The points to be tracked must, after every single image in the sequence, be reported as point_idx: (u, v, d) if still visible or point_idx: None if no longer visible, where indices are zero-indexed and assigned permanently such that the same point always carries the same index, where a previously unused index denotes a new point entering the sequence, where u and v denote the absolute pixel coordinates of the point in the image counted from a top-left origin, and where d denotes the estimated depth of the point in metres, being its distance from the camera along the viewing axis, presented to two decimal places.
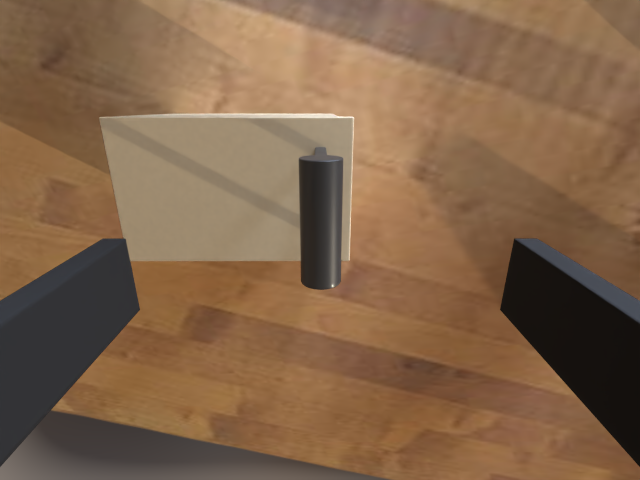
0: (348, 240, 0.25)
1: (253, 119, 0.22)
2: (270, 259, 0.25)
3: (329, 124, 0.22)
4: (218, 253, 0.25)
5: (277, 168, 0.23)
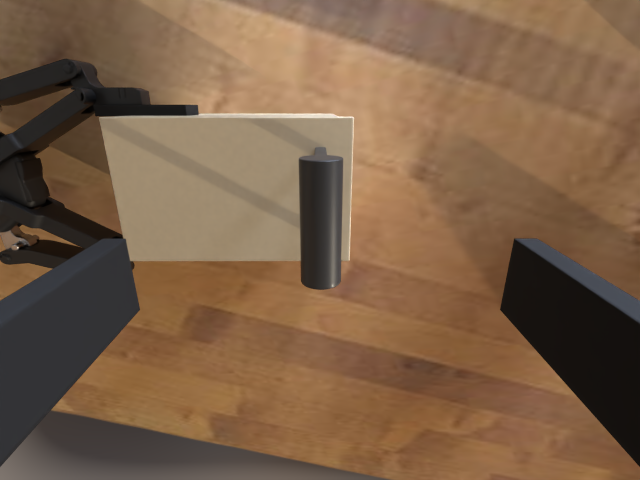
0: (348, 240, 0.25)
1: (253, 119, 0.22)
2: (270, 259, 0.25)
3: (329, 124, 0.22)
4: (218, 253, 0.25)
5: (277, 168, 0.23)
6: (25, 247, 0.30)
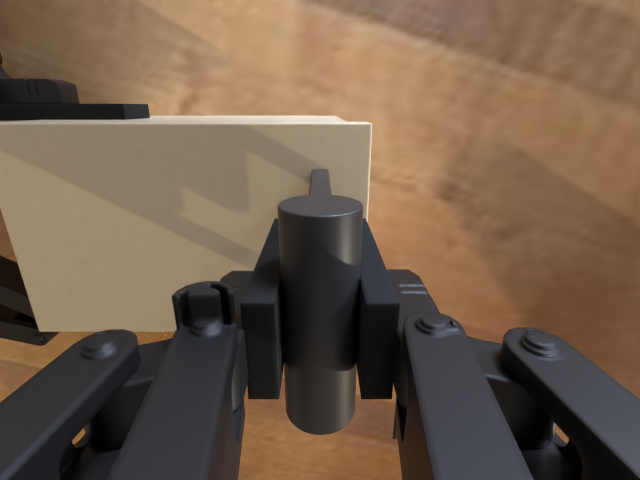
0: None
1: (215, 126, 0.14)
2: None
3: (333, 135, 0.14)
4: (170, 321, 0.17)
5: (254, 200, 0.15)
6: None
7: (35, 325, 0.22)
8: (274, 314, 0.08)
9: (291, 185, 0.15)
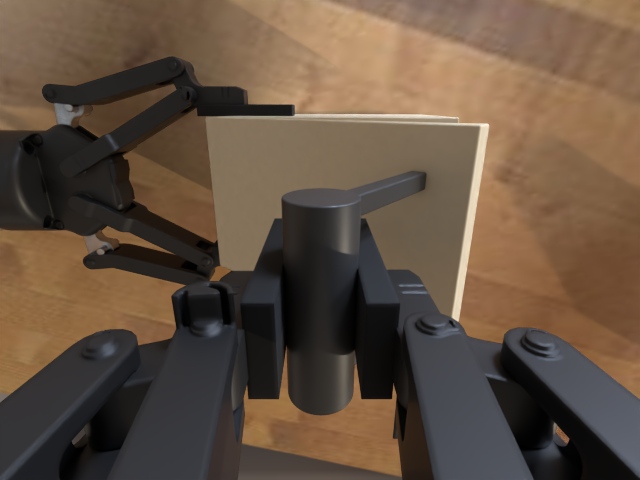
0: None
1: (334, 124, 0.16)
2: None
3: (436, 136, 0.13)
4: None
5: None
6: (109, 251, 0.29)
7: (197, 272, 0.29)
8: (274, 314, 0.08)
9: None
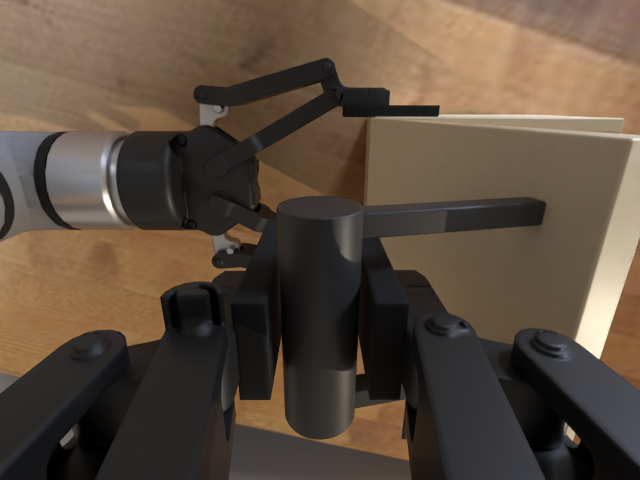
0: None
1: (460, 128, 0.13)
2: None
3: (565, 152, 0.09)
4: None
5: None
6: (237, 251, 0.29)
7: None
8: (265, 315, 0.08)
9: None
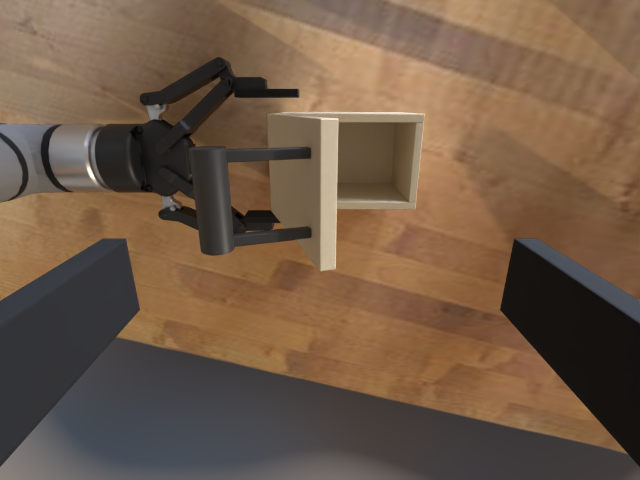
0: (319, 249, 0.23)
1: (292, 118, 0.26)
2: (296, 241, 0.29)
3: (312, 125, 0.22)
4: (285, 223, 0.32)
5: (298, 162, 0.26)
6: (177, 210, 0.42)
7: None
8: None
9: None
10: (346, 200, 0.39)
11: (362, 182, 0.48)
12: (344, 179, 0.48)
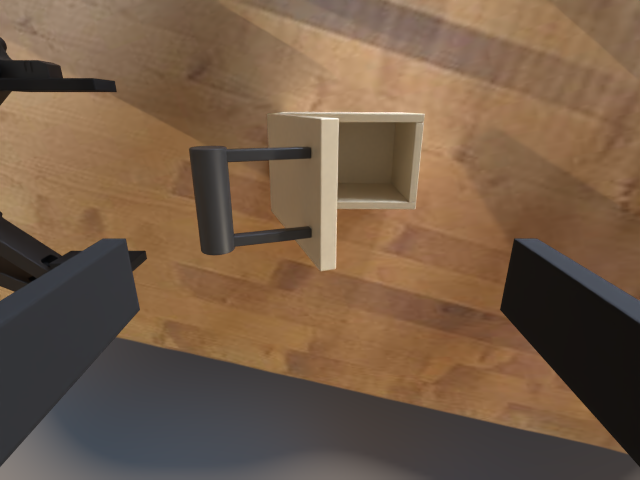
0: (319, 249, 0.23)
1: (292, 117, 0.26)
2: (297, 241, 0.29)
3: (312, 125, 0.22)
4: (285, 223, 0.32)
5: (298, 162, 0.26)
6: None
7: None
8: None
9: None
10: (346, 200, 0.39)
11: (362, 182, 0.48)
12: (344, 179, 0.48)
